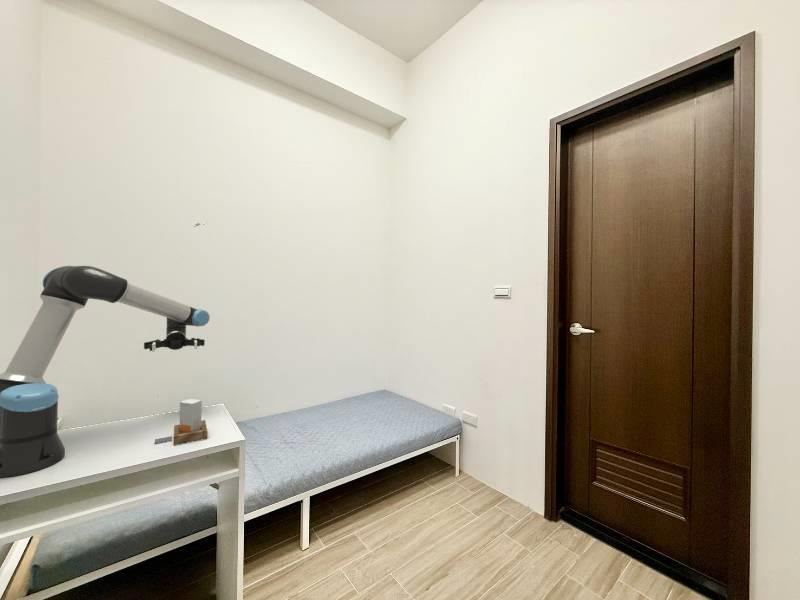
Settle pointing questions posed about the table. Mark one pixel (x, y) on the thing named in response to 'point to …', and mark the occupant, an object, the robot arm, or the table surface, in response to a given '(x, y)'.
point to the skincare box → (190, 415)
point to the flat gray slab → (163, 440)
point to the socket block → (189, 434)
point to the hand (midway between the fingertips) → (175, 346)
